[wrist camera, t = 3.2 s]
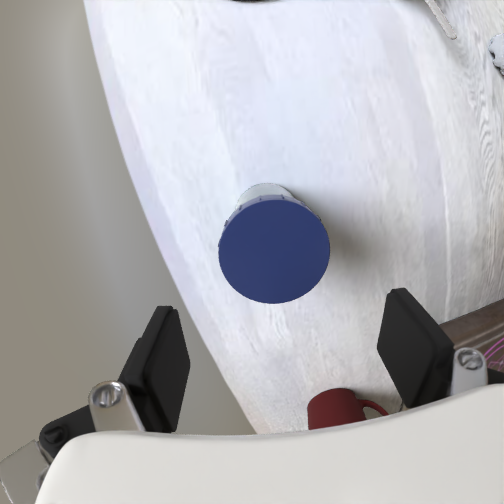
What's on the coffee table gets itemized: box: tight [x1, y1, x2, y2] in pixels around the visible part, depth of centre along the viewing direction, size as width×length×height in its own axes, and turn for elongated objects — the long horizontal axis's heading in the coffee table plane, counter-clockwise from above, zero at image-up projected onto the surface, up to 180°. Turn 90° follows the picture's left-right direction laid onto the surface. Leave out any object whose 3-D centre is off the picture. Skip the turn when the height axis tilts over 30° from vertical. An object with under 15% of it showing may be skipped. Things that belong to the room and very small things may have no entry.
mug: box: [307, 388, 389, 430], centre depth 32 cm, size 12×9×11 cm
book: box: [400, 299, 504, 412], centre depth 33 cm, size 30×22×5 cm
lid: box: [218, 194, 330, 304], centre depth 18 cm, size 7×7×2 cm
